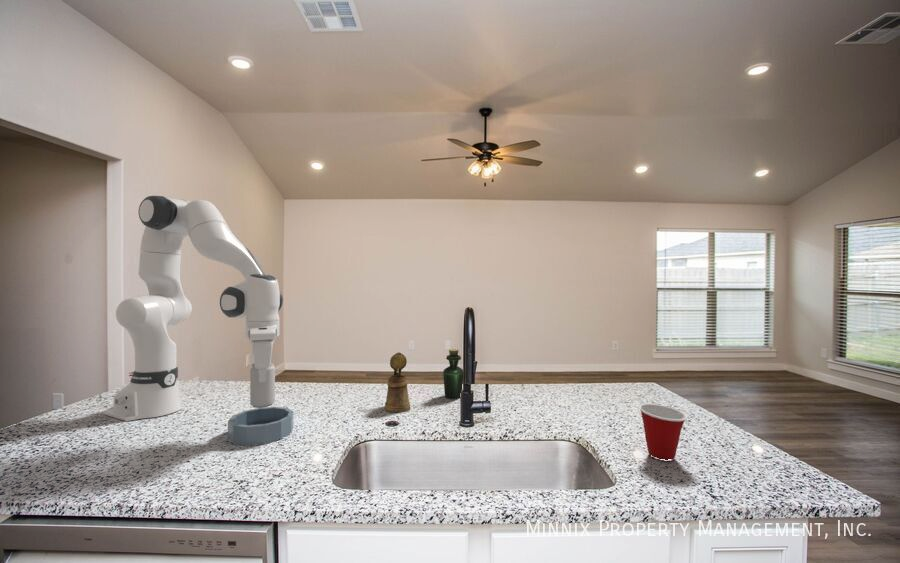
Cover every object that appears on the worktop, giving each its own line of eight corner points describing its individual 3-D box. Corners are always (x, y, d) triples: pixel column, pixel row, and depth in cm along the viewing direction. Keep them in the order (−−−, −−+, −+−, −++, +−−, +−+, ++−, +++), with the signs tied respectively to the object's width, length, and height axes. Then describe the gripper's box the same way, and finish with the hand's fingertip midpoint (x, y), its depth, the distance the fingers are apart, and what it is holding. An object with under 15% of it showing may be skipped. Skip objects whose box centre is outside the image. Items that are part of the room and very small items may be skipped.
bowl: (214, 441, 106) (214, 423, 106) (258, 420, 122) (258, 404, 122) (265, 448, 102) (265, 429, 102) (304, 426, 117) (304, 409, 117)
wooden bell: (410, 400, 145) (411, 352, 145) (410, 412, 131) (410, 359, 131) (386, 400, 144) (386, 352, 144) (383, 413, 130) (384, 359, 130)
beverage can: (265, 409, 108) (265, 366, 108) (244, 407, 109) (245, 365, 109) (279, 402, 114) (279, 361, 114) (260, 401, 115) (260, 360, 116)
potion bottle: (447, 392, 155) (448, 347, 155) (466, 395, 152) (467, 349, 152) (439, 398, 148) (439, 350, 148) (459, 400, 144) (459, 352, 145)
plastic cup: (686, 471, 91) (687, 420, 91) (636, 459, 97) (636, 411, 97) (687, 454, 100) (687, 407, 101) (641, 444, 106) (641, 400, 106)
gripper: (251, 327, 120) (251, 371, 120) (249, 335, 101) (248, 388, 101) (274, 326, 122) (273, 370, 122) (275, 334, 104) (275, 385, 104)
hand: (262, 378), depth 112 cm, fingers closed on beverage can, 6 cm apart
